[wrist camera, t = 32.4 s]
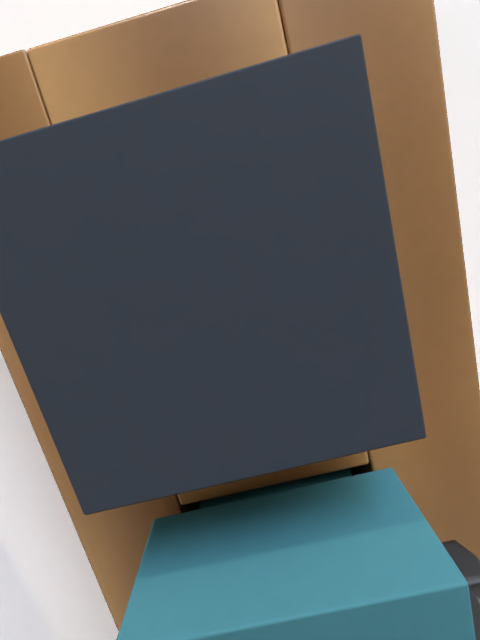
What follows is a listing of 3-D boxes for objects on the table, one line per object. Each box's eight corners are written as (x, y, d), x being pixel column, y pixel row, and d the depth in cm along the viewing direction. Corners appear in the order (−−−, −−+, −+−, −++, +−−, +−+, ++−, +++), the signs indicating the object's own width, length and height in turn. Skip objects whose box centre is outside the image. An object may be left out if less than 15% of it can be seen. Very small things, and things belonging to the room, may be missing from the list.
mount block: (178, 638, 15) (162, 738, 12) (-12, 131, 10) (-111, 88, 7) (456, 583, 14) (514, 675, 11) (371, 18, 10) (426, -76, 7)
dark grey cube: (159, 382, 12) (83, 517, 6) (100, 201, 11) (-67, 157, 5) (334, 339, 12) (427, 439, 6) (294, 147, 10) (362, 30, 5)
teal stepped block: (221, 590, 13) (205, 872, 7) (174, 449, 12) (111, 653, 6) (383, 557, 13) (503, 826, 7) (353, 408, 12) (469, 583, 6)
